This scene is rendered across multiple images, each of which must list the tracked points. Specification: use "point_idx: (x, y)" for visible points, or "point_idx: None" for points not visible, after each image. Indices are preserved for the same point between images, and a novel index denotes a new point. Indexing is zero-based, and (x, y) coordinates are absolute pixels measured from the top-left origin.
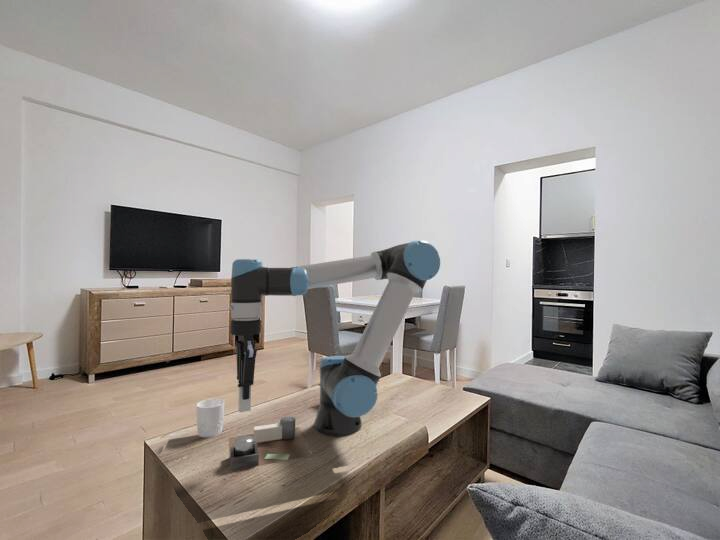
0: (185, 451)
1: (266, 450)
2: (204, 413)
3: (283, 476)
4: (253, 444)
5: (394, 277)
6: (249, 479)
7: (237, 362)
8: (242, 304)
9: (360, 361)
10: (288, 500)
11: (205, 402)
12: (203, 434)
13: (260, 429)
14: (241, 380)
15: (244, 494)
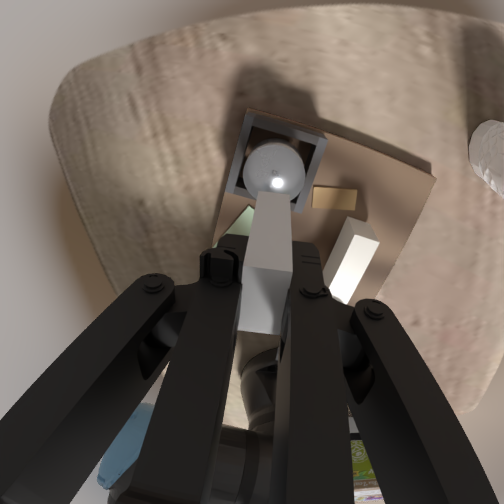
0: (455, 65)
1: (293, 227)
2: None
3: (172, 214)
4: (297, 202)
5: None
6: (202, 145)
7: (424, 431)
8: None
9: None
10: (93, 191)
11: None
12: (488, 127)
13: (346, 250)
14: (207, 303)
15: (149, 119)
